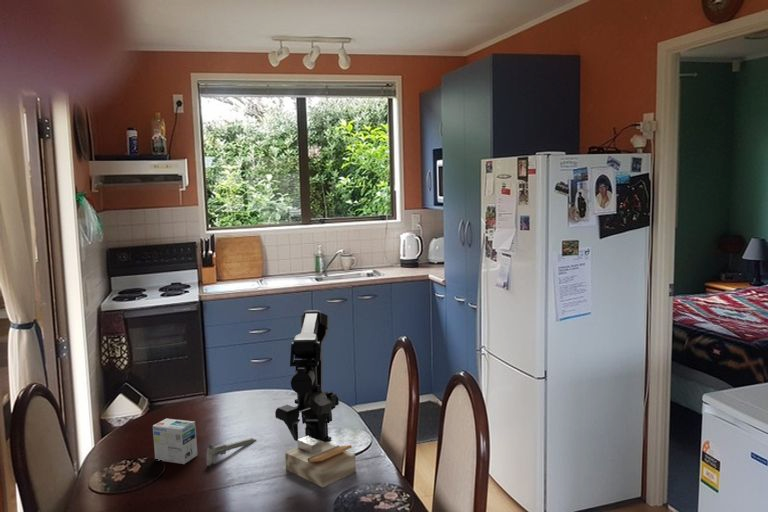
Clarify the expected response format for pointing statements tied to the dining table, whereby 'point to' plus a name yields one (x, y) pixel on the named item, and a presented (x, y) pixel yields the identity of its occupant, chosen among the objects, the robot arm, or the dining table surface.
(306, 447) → the steel pin
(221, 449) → the caliper
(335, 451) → the tan wooden plank
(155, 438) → the light bulb box
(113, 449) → the dining table surface
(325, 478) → the hitch block
